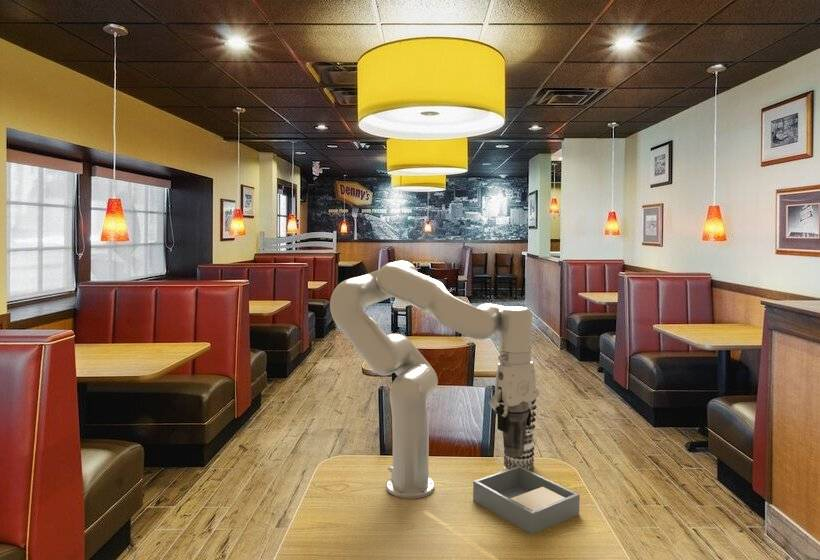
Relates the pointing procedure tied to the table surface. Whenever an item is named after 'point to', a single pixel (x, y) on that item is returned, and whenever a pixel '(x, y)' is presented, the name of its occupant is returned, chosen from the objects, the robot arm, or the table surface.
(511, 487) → the tray
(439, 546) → the table surface
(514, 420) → the beverage cup
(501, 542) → the table surface
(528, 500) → the beige rectangular block
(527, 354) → the robot arm
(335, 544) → the table surface
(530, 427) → the decorative candle
